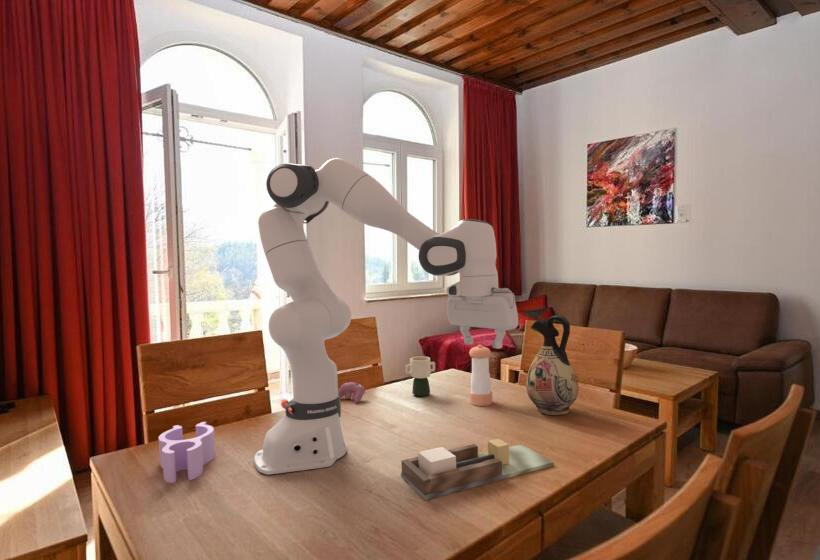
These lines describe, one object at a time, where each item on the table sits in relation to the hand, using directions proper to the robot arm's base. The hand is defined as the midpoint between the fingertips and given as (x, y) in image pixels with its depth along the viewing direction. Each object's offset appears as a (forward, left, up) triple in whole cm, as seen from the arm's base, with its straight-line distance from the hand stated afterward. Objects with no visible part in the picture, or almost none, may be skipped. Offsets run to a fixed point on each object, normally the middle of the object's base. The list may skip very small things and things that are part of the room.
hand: (482, 346), depth 116 cm
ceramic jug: (+37, +18, -27) cm, 49 cm away
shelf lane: (-5, -5, -27) cm, 28 cm away
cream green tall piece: (+10, +55, -27) cm, 62 cm away
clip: (-65, +33, -28) cm, 78 cm away
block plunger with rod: (-9, -5, -26) cm, 28 cm away
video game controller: (-13, +63, -27) cm, 70 cm away
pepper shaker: (+23, +37, -27) cm, 51 cm away
